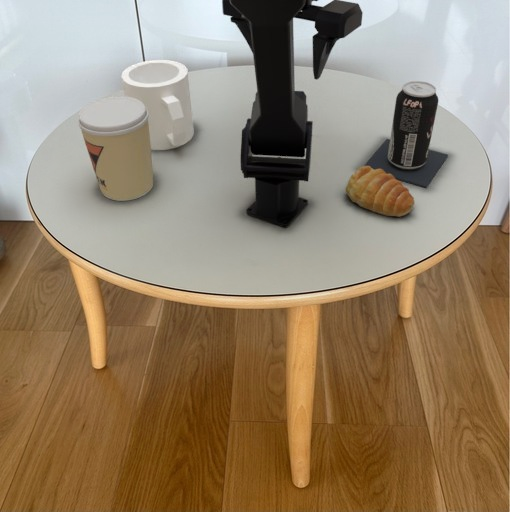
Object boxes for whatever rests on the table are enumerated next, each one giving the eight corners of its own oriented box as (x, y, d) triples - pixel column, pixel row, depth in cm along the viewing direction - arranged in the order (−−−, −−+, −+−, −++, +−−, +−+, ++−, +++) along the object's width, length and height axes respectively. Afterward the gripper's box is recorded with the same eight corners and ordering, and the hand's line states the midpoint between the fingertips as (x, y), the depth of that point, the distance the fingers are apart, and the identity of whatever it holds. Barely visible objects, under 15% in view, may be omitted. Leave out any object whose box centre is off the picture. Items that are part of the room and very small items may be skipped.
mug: (214, 147, 92) (209, 84, 85) (155, 166, 88) (145, 101, 81) (177, 114, 101) (170, 54, 94) (123, 130, 97) (111, 69, 90)
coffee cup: (92, 175, 87) (73, 101, 79) (153, 164, 89) (141, 90, 81) (98, 210, 80) (79, 132, 72) (164, 197, 82) (153, 120, 74)
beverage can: (412, 149, 90) (425, 75, 82) (433, 167, 85) (449, 92, 78) (379, 157, 88) (390, 82, 80) (399, 176, 84) (412, 99, 76)
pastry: (423, 205, 79) (427, 182, 76) (394, 227, 76) (398, 204, 73) (368, 179, 84) (370, 156, 82) (338, 198, 81) (340, 176, 78)
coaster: (426, 188, 82) (426, 186, 82) (361, 169, 86) (361, 167, 86) (447, 156, 88) (448, 154, 88) (386, 140, 92) (386, 138, 92)
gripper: (386, -55, 73) (372, 64, 83) (263, -71, 81) (264, 40, 91) (347, -33, 66) (337, 94, 76) (216, -52, 74) (223, 65, 84)
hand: (288, 71), depth 82 cm, fingers open, 9 cm apart
